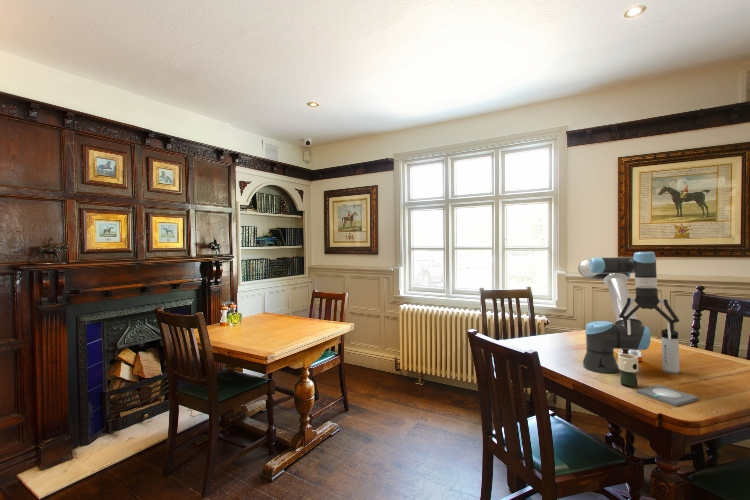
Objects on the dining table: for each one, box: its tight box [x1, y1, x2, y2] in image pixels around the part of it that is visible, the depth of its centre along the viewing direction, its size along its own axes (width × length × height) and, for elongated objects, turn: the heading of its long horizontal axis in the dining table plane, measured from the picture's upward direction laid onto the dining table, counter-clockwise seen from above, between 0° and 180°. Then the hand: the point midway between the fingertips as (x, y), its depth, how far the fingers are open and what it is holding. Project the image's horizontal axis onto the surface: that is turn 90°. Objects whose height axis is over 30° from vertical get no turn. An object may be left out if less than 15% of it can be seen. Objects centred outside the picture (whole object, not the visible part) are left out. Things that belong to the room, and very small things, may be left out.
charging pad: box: [636, 384, 699, 407], centre depth 139 cm, size 14×14×2 cm
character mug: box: [617, 353, 639, 388], centre depth 151 cm, size 11×7×13 cm, turn 130°
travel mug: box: [660, 328, 681, 375], centre depth 165 cm, size 6×7×20 cm
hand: (648, 336), depth 147 cm, fingers open, 13 cm apart
